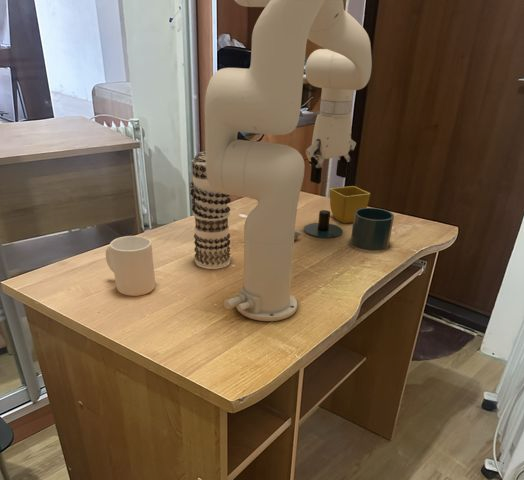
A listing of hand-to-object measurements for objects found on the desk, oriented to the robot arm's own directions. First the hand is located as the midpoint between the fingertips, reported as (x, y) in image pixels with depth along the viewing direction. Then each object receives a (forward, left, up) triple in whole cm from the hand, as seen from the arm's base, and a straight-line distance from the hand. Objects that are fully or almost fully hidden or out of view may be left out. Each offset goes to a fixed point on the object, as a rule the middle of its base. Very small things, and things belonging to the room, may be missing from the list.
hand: (328, 179), depth 129 cm
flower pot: (+13, +3, -15) cm, 20 cm away
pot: (+4, -14, -15) cm, 20 cm away
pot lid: (0, 0, -14) cm, 14 cm away
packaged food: (-16, +1, -15) cm, 22 cm away
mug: (-58, +2, -15) cm, 60 cm away
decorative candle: (-36, +2, -15) cm, 39 cm away
